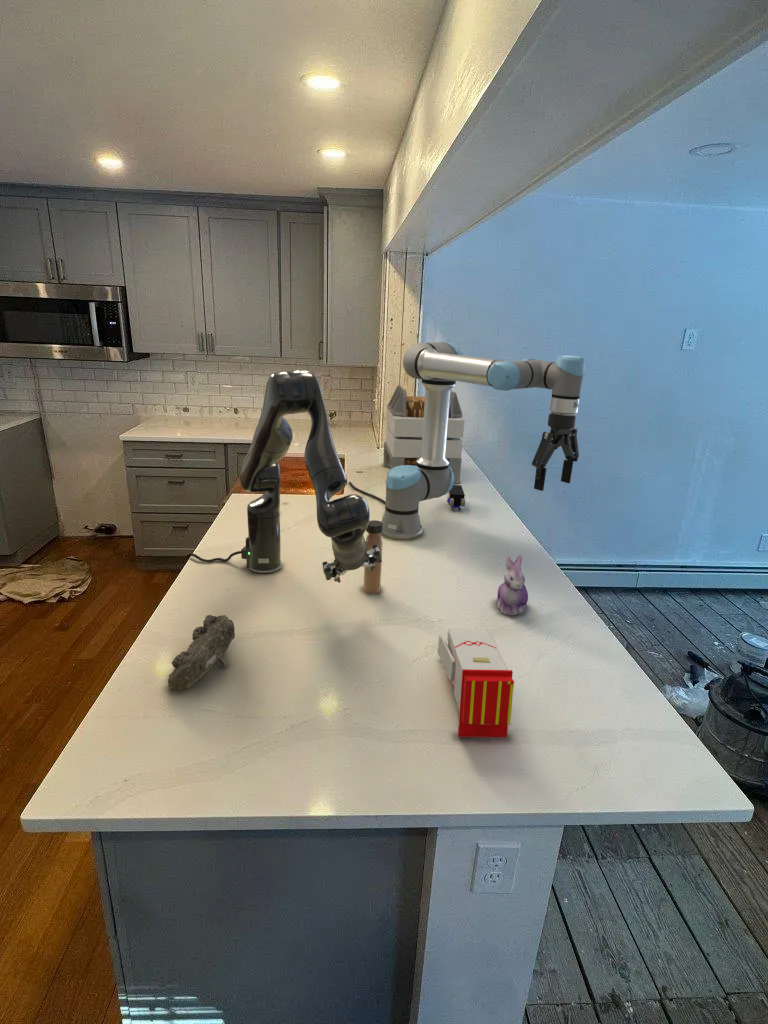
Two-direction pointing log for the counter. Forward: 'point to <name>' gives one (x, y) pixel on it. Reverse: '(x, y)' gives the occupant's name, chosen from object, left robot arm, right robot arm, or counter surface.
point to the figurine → (512, 589)
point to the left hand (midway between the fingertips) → (354, 573)
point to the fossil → (202, 651)
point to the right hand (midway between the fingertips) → (552, 485)
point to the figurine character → (456, 497)
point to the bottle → (374, 577)
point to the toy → (478, 682)
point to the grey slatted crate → (419, 431)
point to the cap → (374, 527)
